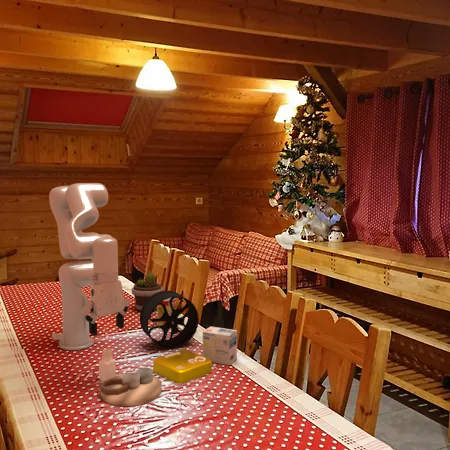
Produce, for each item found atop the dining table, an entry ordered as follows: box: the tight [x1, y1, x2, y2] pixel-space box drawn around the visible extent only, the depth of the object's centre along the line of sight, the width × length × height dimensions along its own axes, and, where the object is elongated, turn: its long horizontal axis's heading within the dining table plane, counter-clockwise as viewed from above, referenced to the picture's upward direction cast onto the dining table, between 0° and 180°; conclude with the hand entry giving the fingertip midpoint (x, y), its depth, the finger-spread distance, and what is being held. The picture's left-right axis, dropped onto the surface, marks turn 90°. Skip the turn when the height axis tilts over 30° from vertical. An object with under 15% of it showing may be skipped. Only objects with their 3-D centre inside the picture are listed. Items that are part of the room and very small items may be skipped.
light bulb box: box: [202, 326, 238, 366], centre depth 174 cm, size 11×7×11 cm, turn 65°
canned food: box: [156, 298, 177, 326], centre depth 211 cm, size 8×8×12 cm
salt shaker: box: [98, 348, 117, 382], centre depth 158 cm, size 4×4×10 cm
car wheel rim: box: [139, 290, 200, 350], centre depth 188 cm, size 20×10×20 cm, turn 116°
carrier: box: [99, 367, 163, 407], centre depth 149 cm, size 18×18×5 cm
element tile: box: [152, 348, 213, 385], centre depth 165 cm, size 15×15×5 cm
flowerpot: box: [131, 270, 164, 312], centre depth 235 cm, size 14×15×20 cm
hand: (107, 331), depth 156 cm, fingers open, 9 cm apart
